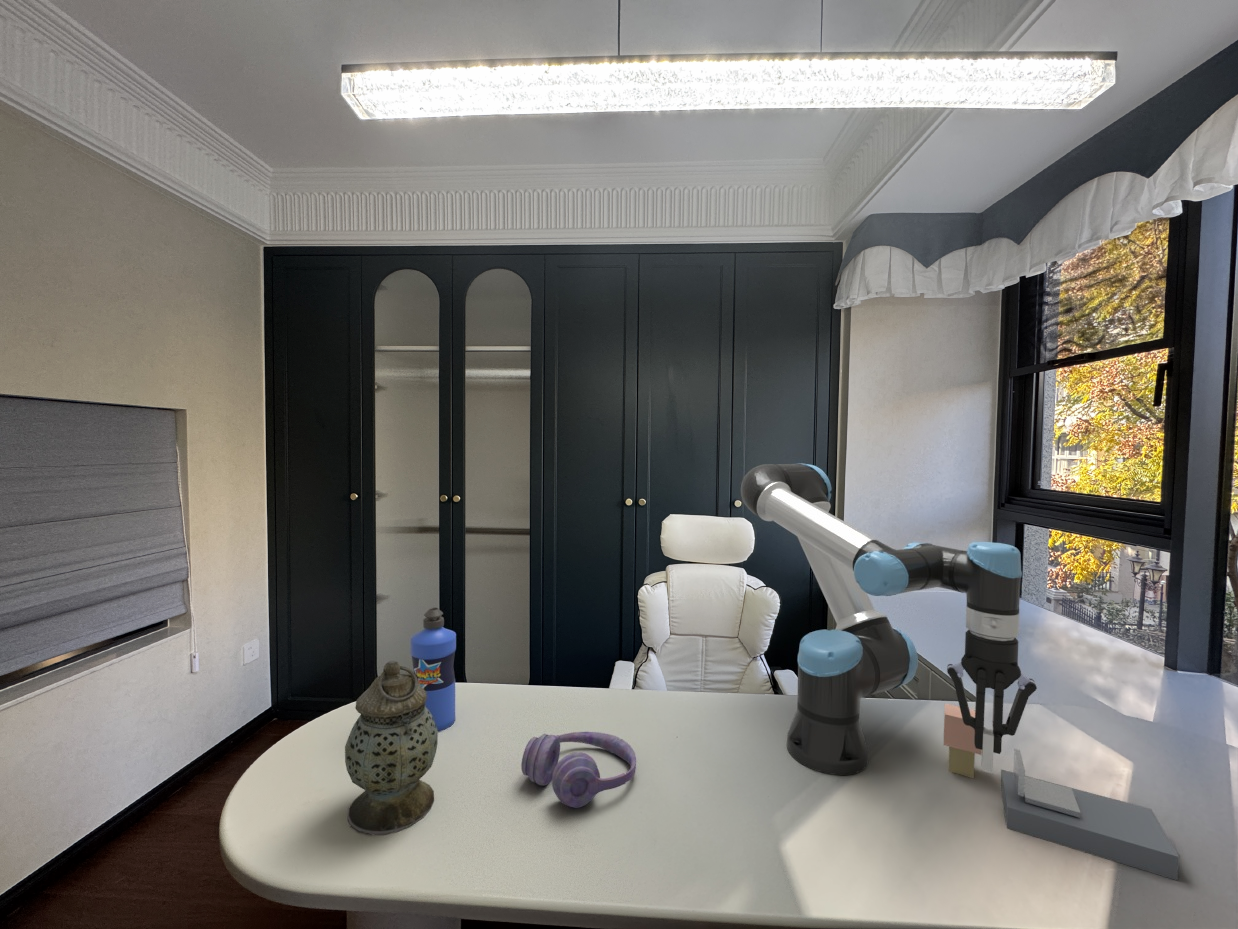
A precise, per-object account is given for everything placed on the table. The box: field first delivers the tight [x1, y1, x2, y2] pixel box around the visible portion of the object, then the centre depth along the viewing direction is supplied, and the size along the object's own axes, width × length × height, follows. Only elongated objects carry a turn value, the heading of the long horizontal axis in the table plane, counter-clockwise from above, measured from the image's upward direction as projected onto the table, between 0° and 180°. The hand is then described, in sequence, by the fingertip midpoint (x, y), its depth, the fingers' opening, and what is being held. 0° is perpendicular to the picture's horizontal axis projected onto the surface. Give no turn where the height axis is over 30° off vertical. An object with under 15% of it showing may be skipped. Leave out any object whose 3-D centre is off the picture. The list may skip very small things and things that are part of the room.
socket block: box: [999, 769, 1180, 881], centre depth 88 cm, size 20×12×4 cm, turn 59°
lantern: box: [344, 660, 439, 836], centre depth 91 cm, size 14×14×25 cm
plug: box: [943, 703, 982, 779], centre depth 104 cm, size 6×5×11 cm
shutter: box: [1012, 748, 1081, 817], centre depth 91 cm, size 8×7×5 cm
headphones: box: [520, 731, 637, 809], centre depth 100 cm, size 18×8×20 cm
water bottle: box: [410, 607, 457, 733], centre depth 118 cm, size 9×9×25 cm
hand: (986, 768), depth 95 cm, fingers closed
